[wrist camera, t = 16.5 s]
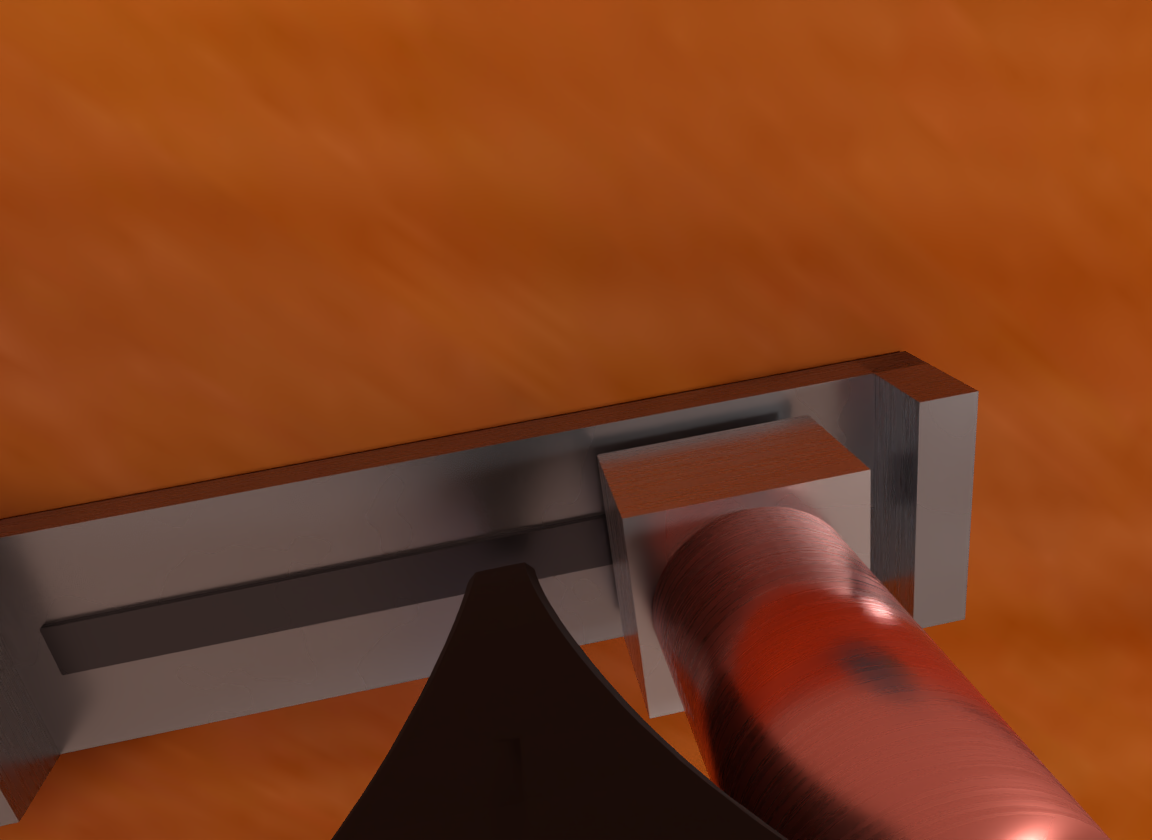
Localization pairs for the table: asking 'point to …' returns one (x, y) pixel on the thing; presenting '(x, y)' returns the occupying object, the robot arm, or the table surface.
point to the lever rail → (410, 557)
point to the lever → (806, 648)
